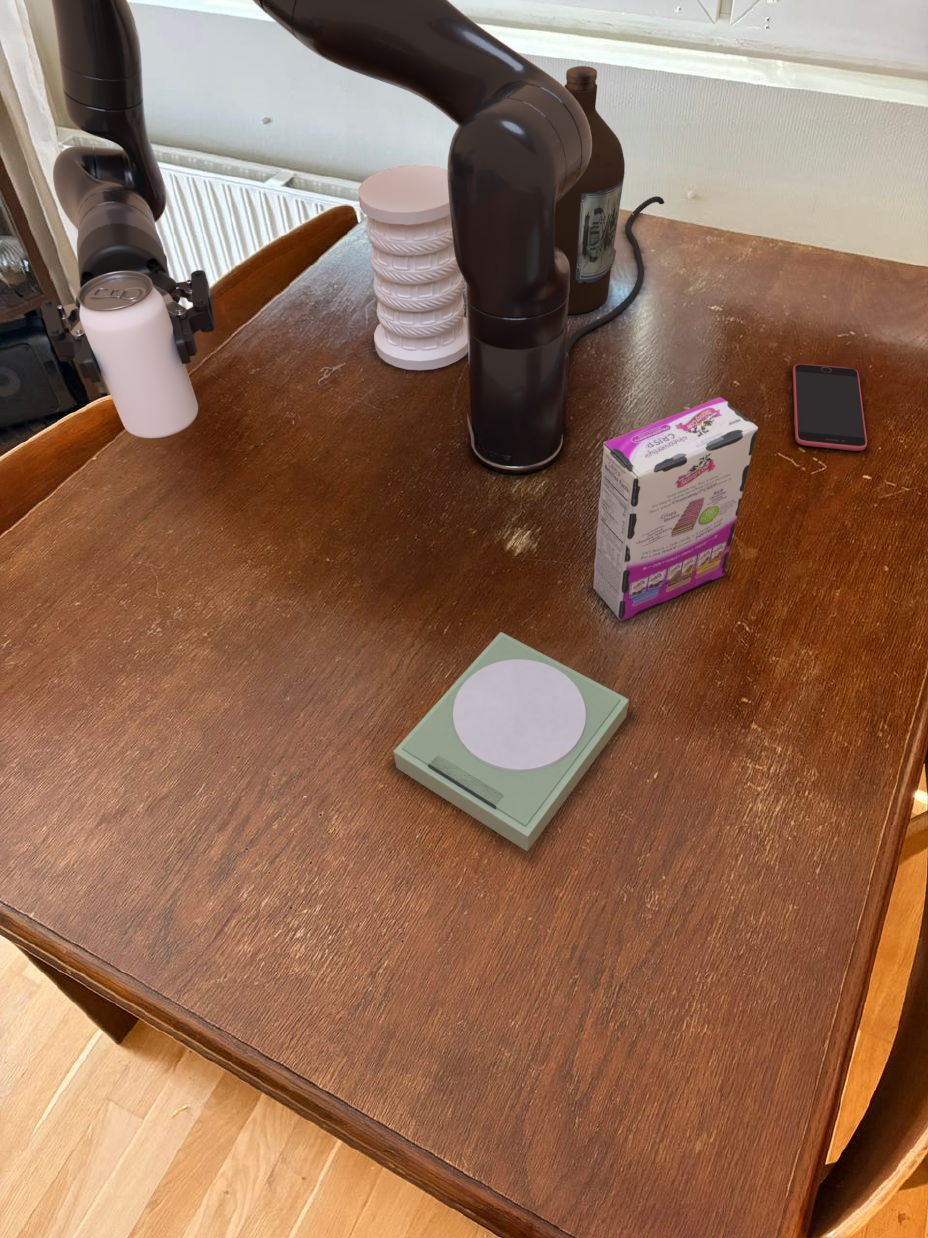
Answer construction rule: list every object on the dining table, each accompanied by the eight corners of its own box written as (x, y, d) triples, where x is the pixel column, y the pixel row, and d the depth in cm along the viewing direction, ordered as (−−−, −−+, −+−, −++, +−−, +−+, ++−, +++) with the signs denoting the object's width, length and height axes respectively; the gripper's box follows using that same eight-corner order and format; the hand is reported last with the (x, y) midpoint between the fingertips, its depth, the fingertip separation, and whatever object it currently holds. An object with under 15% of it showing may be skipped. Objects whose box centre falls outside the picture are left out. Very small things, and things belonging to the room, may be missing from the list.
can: (186, 443, 75) (140, 313, 66) (112, 440, 75) (57, 311, 66) (209, 396, 79) (169, 268, 70) (139, 393, 80) (91, 266, 70)
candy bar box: (690, 543, 82) (721, 392, 70) (724, 577, 79) (763, 427, 67) (587, 587, 79) (600, 438, 67) (618, 624, 76) (639, 476, 64)
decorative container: (355, 342, 106) (331, 189, 93) (429, 305, 111) (416, 153, 98) (418, 382, 101) (403, 225, 87) (493, 341, 105) (489, 185, 92)
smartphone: (859, 367, 98) (868, 448, 89) (857, 372, 98) (867, 452, 89) (792, 362, 99) (795, 440, 90) (791, 366, 99) (794, 445, 90)
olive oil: (509, 296, 112) (508, 73, 93) (566, 264, 116) (576, 45, 97) (573, 328, 106) (587, 98, 87) (630, 293, 111) (655, 67, 92)
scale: (500, 649, 75) (500, 624, 73) (626, 717, 70) (630, 693, 68) (395, 768, 68) (391, 745, 66) (527, 852, 63) (527, 831, 61)
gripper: (23, 237, 77) (24, 340, 66) (191, 206, 79) (218, 300, 69) (57, 316, 82) (63, 422, 72) (213, 285, 85) (240, 383, 74)
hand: (138, 362), depth 70 cm, fingers closed on can, 6 cm apart
